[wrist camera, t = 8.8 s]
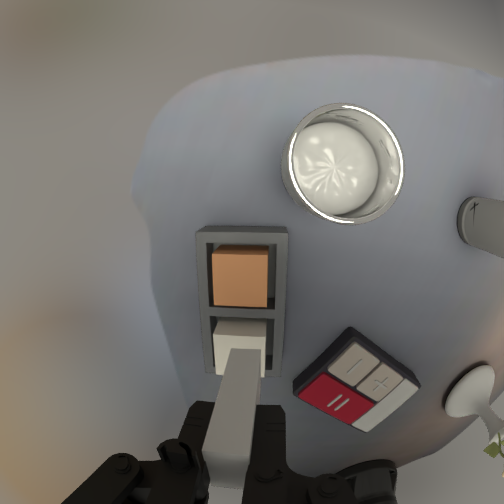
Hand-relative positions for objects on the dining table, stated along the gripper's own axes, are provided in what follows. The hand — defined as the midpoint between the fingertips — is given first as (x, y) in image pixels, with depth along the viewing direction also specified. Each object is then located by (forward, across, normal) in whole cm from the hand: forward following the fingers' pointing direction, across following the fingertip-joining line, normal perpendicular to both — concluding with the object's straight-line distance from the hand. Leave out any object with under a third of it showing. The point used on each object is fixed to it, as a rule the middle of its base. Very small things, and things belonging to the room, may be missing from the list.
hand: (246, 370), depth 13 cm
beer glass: (+18, -5, -11) cm, 21 cm away
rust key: (+16, +2, -1) cm, 16 cm away
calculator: (+18, -13, +16) cm, 27 cm away
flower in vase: (+18, -36, +22) cm, 46 cm away
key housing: (+18, +2, +3) cm, 18 cm away
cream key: (+15, +2, +7) cm, 17 cm away
